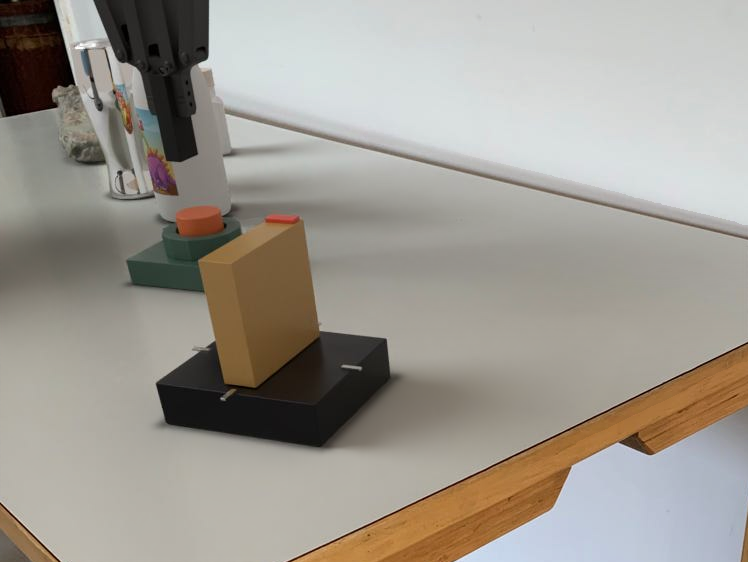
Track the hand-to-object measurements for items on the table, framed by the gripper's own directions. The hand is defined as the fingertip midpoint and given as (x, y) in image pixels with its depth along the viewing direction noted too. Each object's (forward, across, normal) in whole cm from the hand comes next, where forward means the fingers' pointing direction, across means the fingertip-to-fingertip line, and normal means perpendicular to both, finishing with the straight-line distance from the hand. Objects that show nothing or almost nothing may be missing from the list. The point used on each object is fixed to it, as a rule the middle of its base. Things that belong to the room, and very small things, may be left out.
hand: (182, 157), depth 85 cm
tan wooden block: (+6, -21, +22) cm, 31 cm away
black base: (+10, -21, +22) cm, 32 cm away
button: (+6, -1, 0) cm, 6 cm away
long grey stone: (+11, +47, -46) cm, 67 cm away
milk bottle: (+10, +11, -16) cm, 22 cm away
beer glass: (+10, +23, -22) cm, 34 cm away
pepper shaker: (+10, +24, -40) cm, 48 cm away
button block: (+10, -1, 0) cm, 10 cm away
